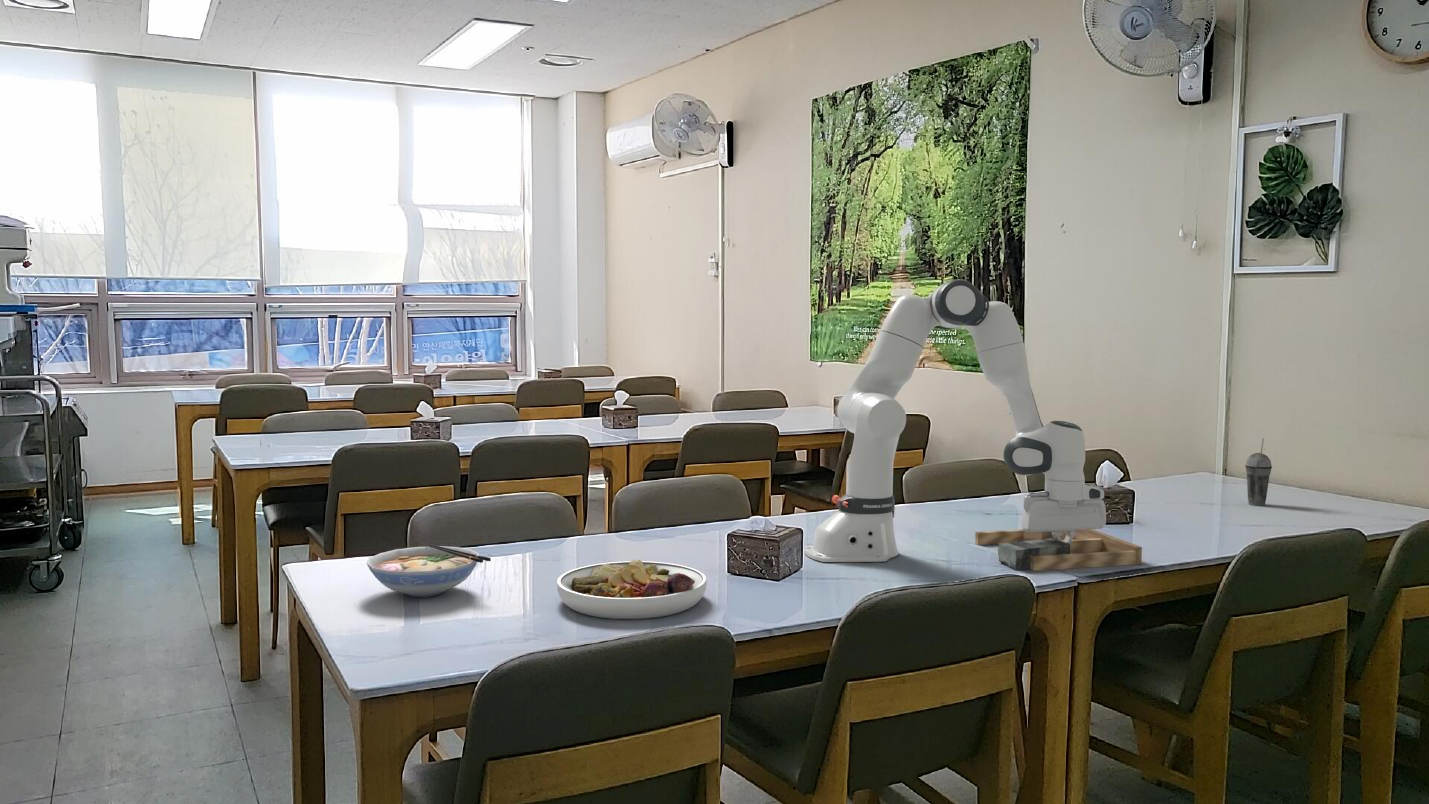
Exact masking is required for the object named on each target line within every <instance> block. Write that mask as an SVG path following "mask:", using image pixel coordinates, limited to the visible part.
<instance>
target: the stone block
mask: <svg viewBox="0 0 1429 804" xmlns="http://www.w3.org/2000/svg"><path fill="white" fill-rule="evenodd" d="M1059 554H1071V553H1070V544H1069V543H1066V542H1062V541H1059V540H1056V539H1053V538H1046V539H1038V540H1029V541H1020V540H1017V541H1016V542H1008V543H1000V544H998V548H997V556H998V561H999V562H1000V563H1002V564H1004V565H1006V566H1007V567H1009V568H1011V569H1013V570H1016V571H1022V570H1031V569H1030V557H1031V556H1041V555H1059Z"/></svg>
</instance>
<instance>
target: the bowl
mask: <svg viewBox="0 0 1429 804" xmlns="http://www.w3.org/2000/svg"><path fill="white" fill-rule="evenodd" d="M707 581H708V580H707V577H706V575H705V574H704V573H703V572H702V571H700V570H698V569H696V568H692V567H689V566H686V565H682V564H676V563H669V562H660V561H647V560H646V561H643V560H641V559H638V560H629V561H614V562H613V561H612V562H605V563H604V562H602V563H596V564H591V565H585V566H581V567H578V568H574V569H571V570H568V571H566V572H564V573H562V574H561V575H560V576H559V577H558V578H557V580H556V588H557V593H558V596H559V597H560V599H561V601H562V602H563V603H564V604H565V605H566V606H567V607H568V608H569V609H572V610H573V611H576V612H578V613H581V614H583V615H586V616H590V617H597V618H600V619H601V618H603V619H611V620H612V619H614V620H643V619H653V618H660V617H666V616H671V615H675V614H678V613H682V612H684V611H687V610H689V609H690V608H692V607H694V606H695V605H696V604H697V603H698V602H700V600H701V599H702V598H703V596H704V595H705V592H706V589H707V585H708V583H707Z"/></svg>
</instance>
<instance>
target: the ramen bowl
mask: <svg viewBox="0 0 1429 804" xmlns="http://www.w3.org/2000/svg"><path fill="white" fill-rule="evenodd" d="M418 544H419V545H423V546H415V547H413V546H412V547H405V548H396V549H393V550H388V551H385V552H380V553H378V554H375V555H373V556H371V557H368V560H367V561H366V565H367V567H368V569H369V570H370V572H371V573H372V575H373V576H374V577H375V579H377V581H379V582H380V584H381V585H383V586H384V587H385V588H387V589H390V590H391V591H395V592H397V593H402V594H405V595H406V596H409V597H413V598H429V597H435V596H439V595H441V594H442V593H444V592H446V591H448V590H450V589H453V588H455V587H457V586H458V585H460V584H462V583H463V582H464V581H465V580H467V579H468V577H470V576H471V574H472V572H473V571H474V570H475V568H476V566H477V565H478V563H481V564H482V563H484V561H486V562H491V559H492V558H491V557H487V556H485V555H484V556H483V555H480V553H479V552H477V551H475V550H474V549H471V548H464V547H460V546H459V547H458V546H446V545H445V546H443V545H440V546H439V545H436V544H431V543H426V542H418Z"/></svg>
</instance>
